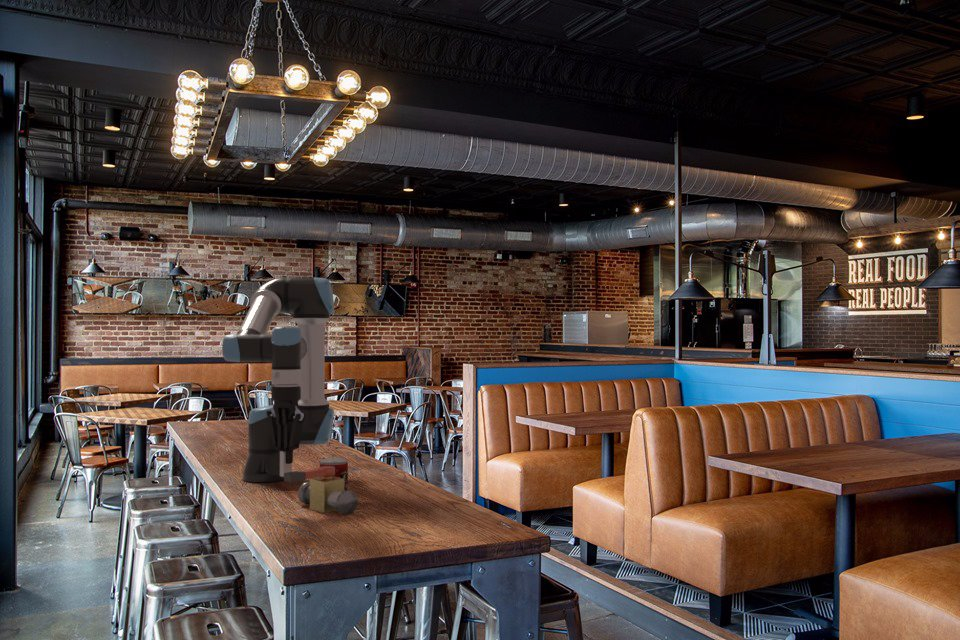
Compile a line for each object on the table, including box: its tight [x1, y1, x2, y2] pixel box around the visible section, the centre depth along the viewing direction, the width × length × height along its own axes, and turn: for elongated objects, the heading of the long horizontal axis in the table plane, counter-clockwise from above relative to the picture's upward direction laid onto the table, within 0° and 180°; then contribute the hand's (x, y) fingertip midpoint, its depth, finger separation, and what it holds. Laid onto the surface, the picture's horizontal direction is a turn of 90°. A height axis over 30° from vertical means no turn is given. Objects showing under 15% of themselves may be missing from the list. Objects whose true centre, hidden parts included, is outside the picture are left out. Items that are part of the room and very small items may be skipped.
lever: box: [283, 466, 335, 484], centre depth 193 cm, size 14×4×2 cm, turn 137°
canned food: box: [319, 457, 349, 491], centre depth 208 cm, size 8×8×11 cm
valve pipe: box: [297, 476, 359, 516], centre depth 197 cm, size 18×6×9 cm, turn 47°
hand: (285, 475), depth 194 cm, fingers closed
